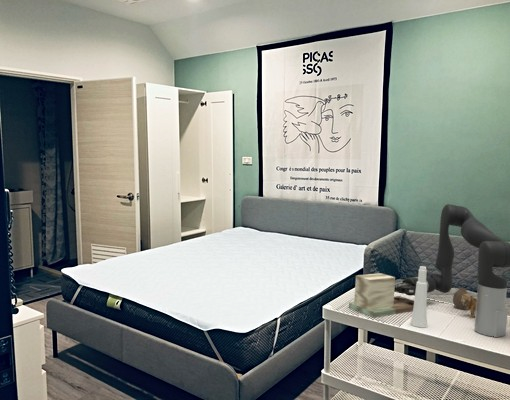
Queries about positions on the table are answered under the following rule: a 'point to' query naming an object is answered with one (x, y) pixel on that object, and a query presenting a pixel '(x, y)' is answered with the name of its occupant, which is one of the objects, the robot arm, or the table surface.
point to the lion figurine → (469, 303)
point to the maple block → (374, 291)
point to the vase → (459, 298)
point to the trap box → (387, 308)
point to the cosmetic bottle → (420, 300)
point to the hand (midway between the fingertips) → (387, 289)
